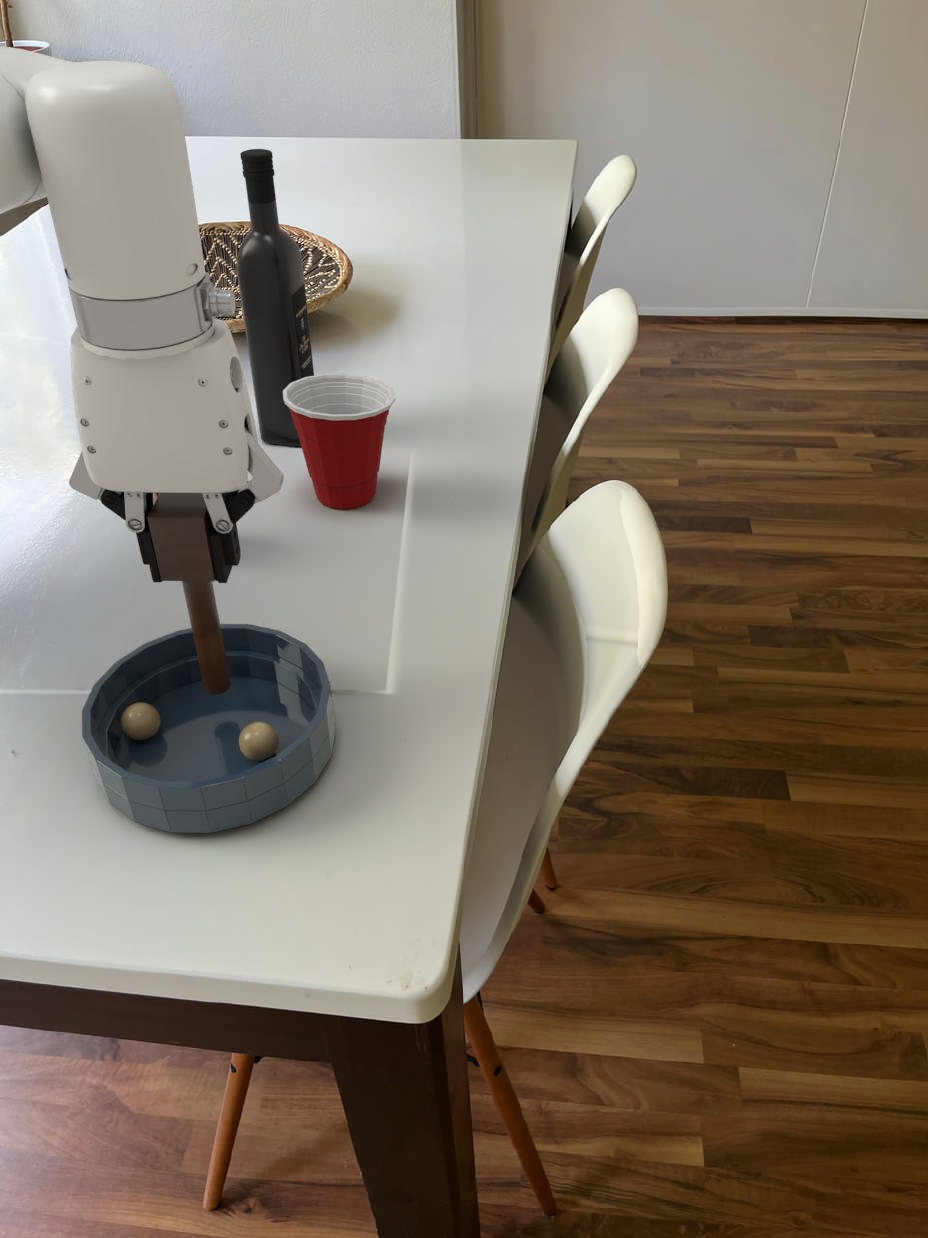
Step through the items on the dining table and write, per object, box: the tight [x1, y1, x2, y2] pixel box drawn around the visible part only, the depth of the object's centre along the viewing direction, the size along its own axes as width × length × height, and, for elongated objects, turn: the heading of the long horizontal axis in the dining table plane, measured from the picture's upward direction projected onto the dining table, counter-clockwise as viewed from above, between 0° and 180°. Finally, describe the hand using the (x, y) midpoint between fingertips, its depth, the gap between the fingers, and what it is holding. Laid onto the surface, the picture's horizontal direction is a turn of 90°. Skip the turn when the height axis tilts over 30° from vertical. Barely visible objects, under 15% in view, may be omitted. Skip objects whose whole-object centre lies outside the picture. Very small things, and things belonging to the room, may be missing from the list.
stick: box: [148, 493, 231, 694], centre depth 70 cm, size 4×4×16 cm
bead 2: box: [239, 722, 278, 761], centre depth 71 cm, size 3×3×3 cm
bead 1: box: [120, 702, 160, 741], centre depth 73 cm, size 3×3×3 cm
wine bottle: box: [236, 148, 315, 447], centre depth 104 cm, size 6×6×30 cm
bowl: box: [81, 623, 336, 834], centre depth 72 cm, size 17×17×5 cm
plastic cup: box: [283, 373, 397, 511], centre depth 98 cm, size 11×11×12 cm
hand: (194, 569), depth 68 cm, fingers closed on stick, 3 cm apart
